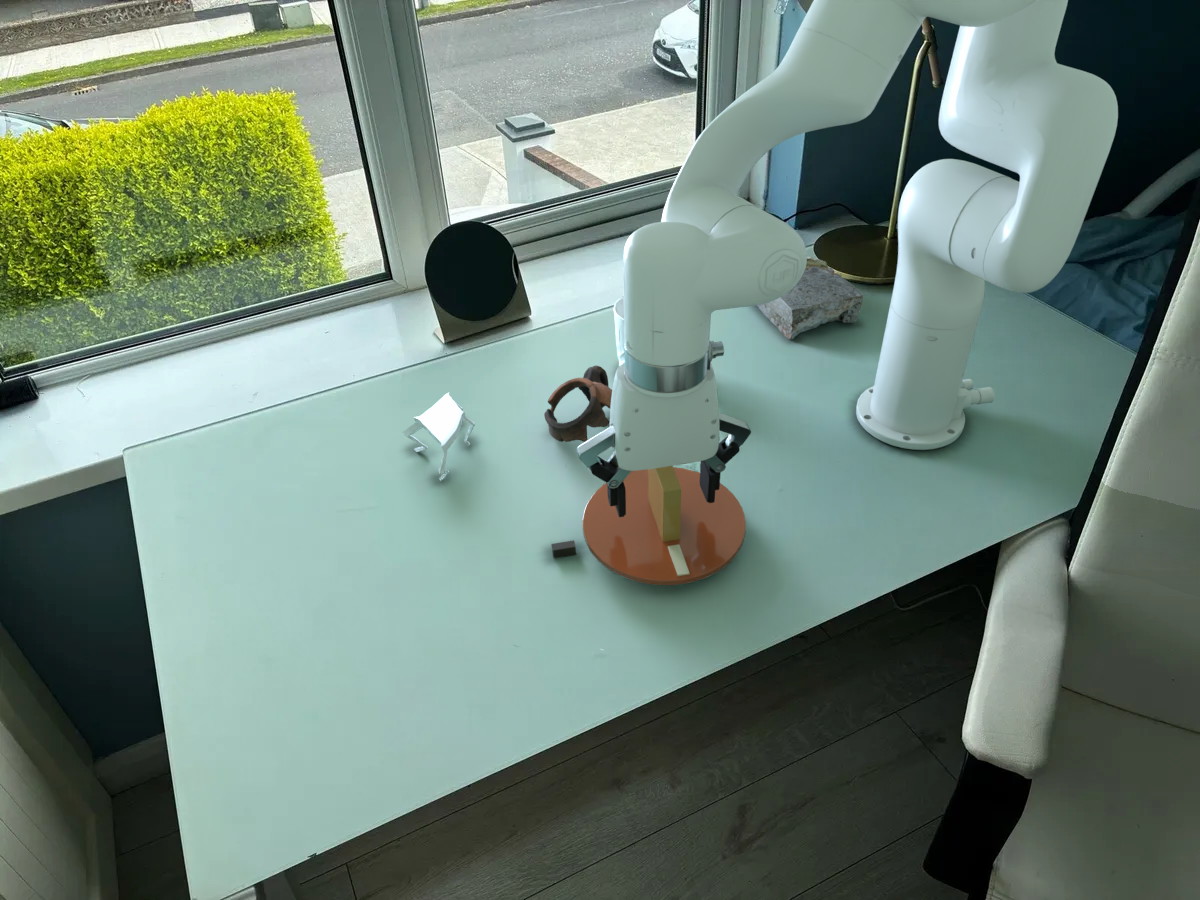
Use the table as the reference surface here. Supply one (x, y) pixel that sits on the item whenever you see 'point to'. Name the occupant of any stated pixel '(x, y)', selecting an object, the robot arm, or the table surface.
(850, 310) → the geological specimen
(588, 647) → the table surface
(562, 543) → the dark grey rectangular block
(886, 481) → the table surface
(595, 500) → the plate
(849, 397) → the table surface
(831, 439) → the table surface
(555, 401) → the pottery mug
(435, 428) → the origami figure
